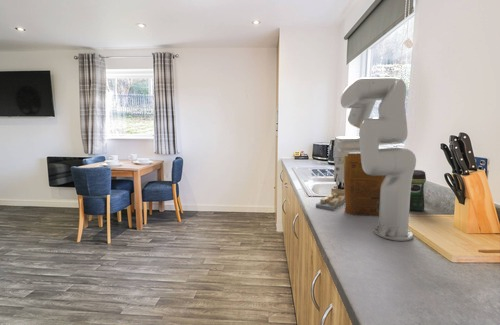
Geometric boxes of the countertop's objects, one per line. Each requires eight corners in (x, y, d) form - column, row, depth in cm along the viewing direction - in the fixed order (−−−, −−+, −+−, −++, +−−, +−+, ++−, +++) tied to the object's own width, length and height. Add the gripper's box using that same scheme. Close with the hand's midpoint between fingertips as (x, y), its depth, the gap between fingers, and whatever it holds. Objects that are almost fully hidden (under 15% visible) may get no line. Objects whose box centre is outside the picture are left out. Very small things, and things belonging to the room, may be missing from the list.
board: (333, 210, 125) (333, 200, 124) (315, 207, 130) (316, 197, 130) (349, 200, 140) (349, 192, 139) (332, 198, 146) (332, 189, 145)
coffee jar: (421, 207, 127) (423, 169, 124) (425, 212, 119) (428, 171, 117) (398, 205, 130) (400, 168, 127) (401, 210, 123) (404, 171, 120)
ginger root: (333, 205, 127) (334, 195, 127) (320, 202, 132) (320, 193, 131) (345, 198, 138) (345, 189, 137) (332, 196, 143) (332, 187, 142)
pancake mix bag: (389, 218, 113) (393, 153, 109) (342, 215, 117) (344, 152, 114) (385, 213, 120) (388, 151, 116) (341, 210, 124) (342, 151, 120)
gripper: (342, 162, 131) (342, 198, 134) (353, 159, 143) (352, 192, 145) (328, 161, 136) (327, 196, 139) (340, 158, 147) (339, 190, 150)
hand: (340, 194), depth 142 cm, fingers closed
